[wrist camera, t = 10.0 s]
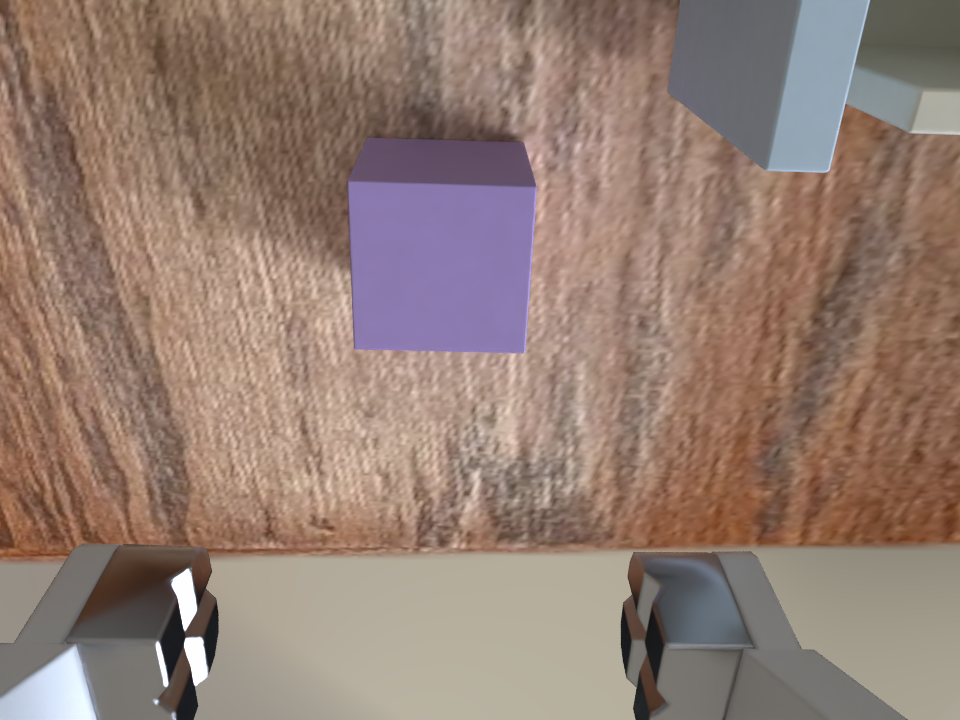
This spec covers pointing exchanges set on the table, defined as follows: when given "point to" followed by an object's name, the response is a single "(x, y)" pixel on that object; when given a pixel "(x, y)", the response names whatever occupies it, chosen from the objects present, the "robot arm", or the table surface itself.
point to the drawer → (815, 71)
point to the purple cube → (441, 245)
